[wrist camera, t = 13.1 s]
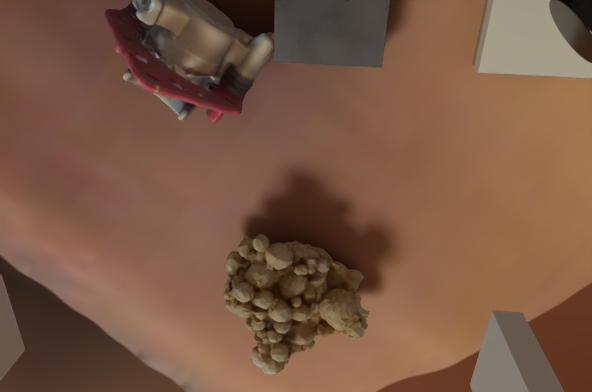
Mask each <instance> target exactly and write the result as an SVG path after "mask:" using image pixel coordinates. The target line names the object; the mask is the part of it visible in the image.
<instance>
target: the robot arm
mask: <svg viewBox="0 0 592 392" xmlns="http://www.w3.org/2000/svg"><path fill="white" fill-rule="evenodd" d="M24 350H25V348H24V345H23V341H22V338H21V335H20V332H19V329H18V326H17V322H16V319H15V316H14V313H13V310H12V307H11V303H10V301H9V297H8V294H7V291H6V288H5V285H4V281H3V278H2V275H0V381H1V379H2V378H3V377H4V375H5V374H6V373H7V372H8V370H9V369H10V368H11V367H12V365H13V364H14V363H15V361H16V360H17V359H18V358H19V356H20V355H21V354H22V352H23V351H24ZM470 386H471V389H472V392H564V390H563V389H562V387H561V385H560V383H559V381H558V379H557V377H556V375H555V373H554V372H553V370H552V368H551V366H550V364H549V362H548V360H547V358H546V356H545V355H544V353H543V351H542V349H541V347H540V345H539V343H538V342H537V340H536V338H535V336H534V334H533V332H532V330H531V328H530V326H529V325H528V323H527V321H526V319H525V317H524V315H523V313H521V312H507V311H494V310H492V312H491V316H490V319H489V322H488V326H487V329H486V332H485V336H484V339H483V343H482V346H481V349H480V353H479V356H478V359H477V363H476V366H475V370H474V373H473V376H472V380H471V383H470Z"/></svg>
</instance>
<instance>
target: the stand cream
mask: <svg viewBox="0 0 592 392" xmlns="http://www.w3.org/2000/svg"><path fill="white" fill-rule="evenodd" d="M549 2H550V0H486V2H485V7H484V12H483V17H482V22H481V26H480V31H479V36H478V41H477V46H476V51H475V56H474V60H473V65H474V69H475V70H476V71H477V72H482V73H502V74H521V75H541V76H561V77H581V78H592V63H590V62H588V61H586V60H585V59H583V58H582V57H581V56H580V55H579V54H577V53H576V52H575V51H574V49H573V48H572V47H571V46H570V45H569V44H568V43H567V41H566V40H565V39H564V37H563V36H562V34H561V33H560V31H559V30H558V28H557V26H556V24H555V22H554V20H553V18H552V15H551V12H550V8H549Z"/></svg>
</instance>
